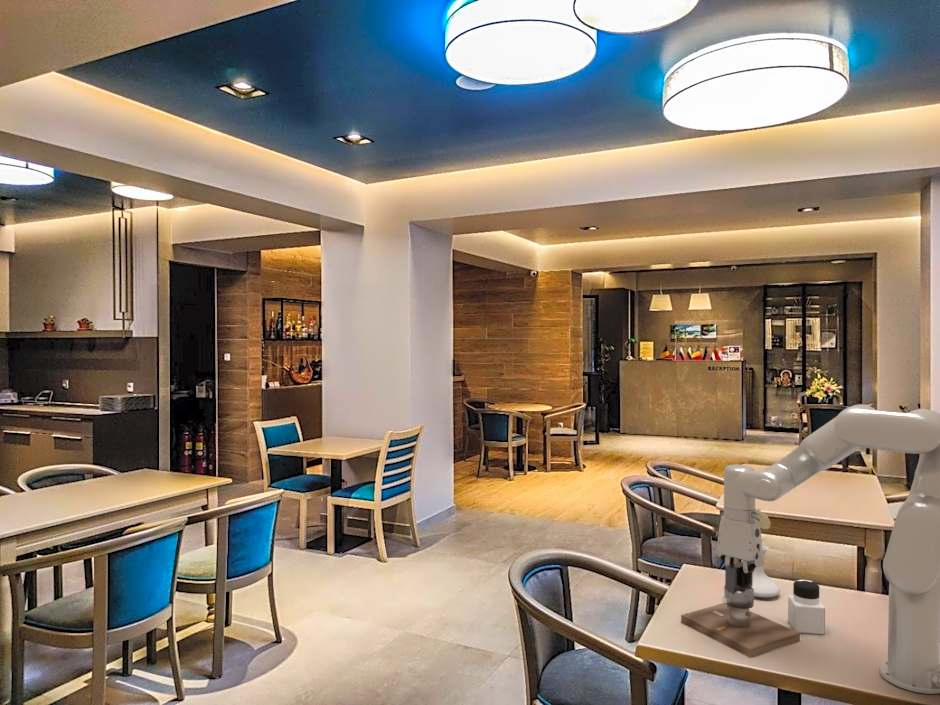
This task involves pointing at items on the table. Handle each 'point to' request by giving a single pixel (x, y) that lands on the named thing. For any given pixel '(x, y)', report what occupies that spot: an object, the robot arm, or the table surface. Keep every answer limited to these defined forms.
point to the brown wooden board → (740, 629)
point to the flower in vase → (760, 580)
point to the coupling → (737, 588)
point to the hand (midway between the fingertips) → (738, 583)
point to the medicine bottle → (806, 608)
